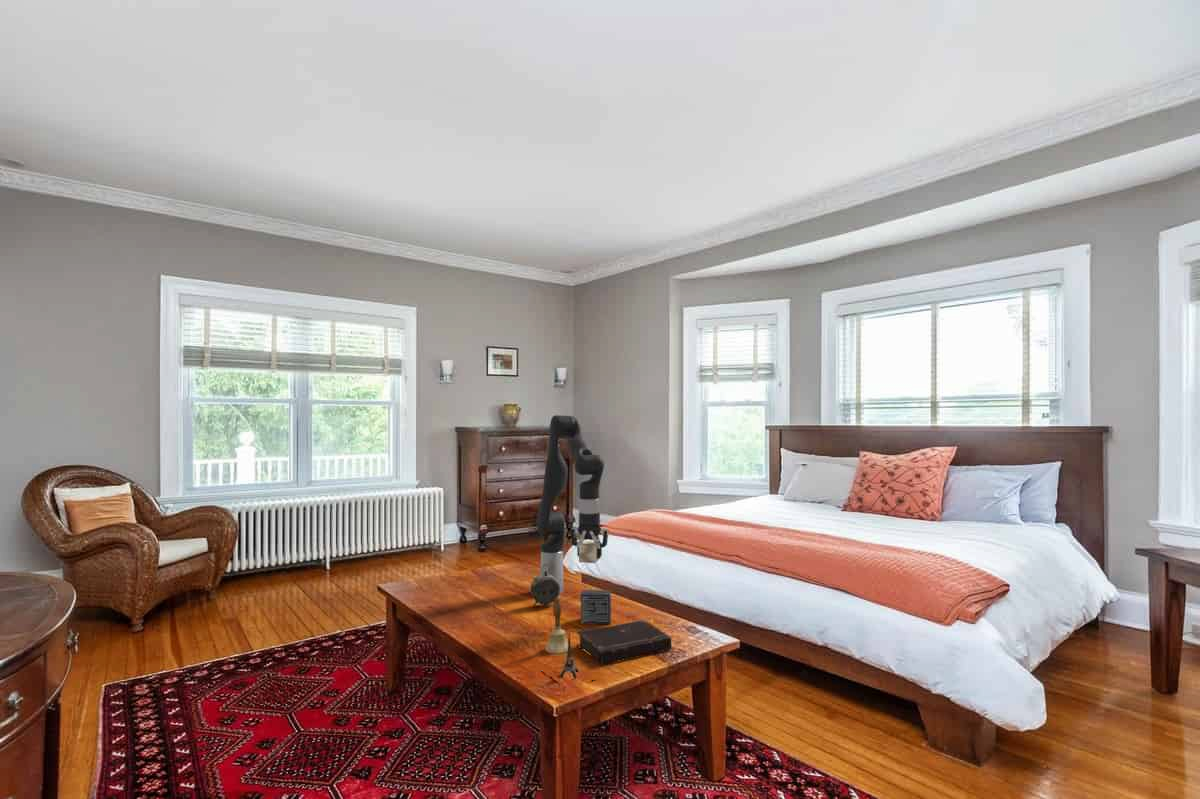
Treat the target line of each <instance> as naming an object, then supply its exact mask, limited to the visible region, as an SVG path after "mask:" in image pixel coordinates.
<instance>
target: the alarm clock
mask: <svg viewBox="0 0 1200 799" xmlns="http://www.w3.org/2000/svg"><path fill="white" fill-rule="evenodd" d="M544 565H548V564H544ZM544 565H543V566H544ZM543 566H542V568H543ZM548 566H549V565H548ZM542 568H541V567H540V570H541V569H542ZM549 570H550V566H549ZM549 570H548V571H549ZM548 571H545V572H544V573H545V574H541V575H540V574H539V575H537V576H536V577H535V578H534V579H533V580H532V582H531V585H530V594H531V596H532V598H533V599H534V600H535V603H534V604H533V605H532V606H533V607H536V605H537V604H540V605H543V606H545V608H546V609H547V608H548V605H550V604H552V603H554V601H555V598H559V595H560V594H559V593H560V585H559V583H558V581H557V580H556V579H555V577H553V576H552V575H550V574H547V572H548ZM542 572H543V570H542Z"/></svg>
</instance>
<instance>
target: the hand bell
mask: <svg viewBox="0 0 1200 799" xmlns="http://www.w3.org/2000/svg"><path fill="white" fill-rule="evenodd" d="M552 608H553V609H552V612H553V615H554V629H553V630H552V631H551V632H550V638H549V642H548V643H547V645H546V646H545V648H544V650H545V651H546V652H547V653H550V654H556V655H558V654H565V653H568V639H567V636H566V631H565V630H564V629H562V628H561V615H562V603H561V601H560V598H559V597H557V598H555V601H554V602H553V605H552Z"/></svg>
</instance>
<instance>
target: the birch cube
mask: <svg viewBox="0 0 1200 799" xmlns="http://www.w3.org/2000/svg"><path fill="white" fill-rule="evenodd" d="M599 560H600V559H597V545H596V544H595V543H594V541H587V540H584V542H583V543H582V544H580V545H579V556H578V562H579V563H585V564H586V563H587V564H596V563H597V562H598V561H599Z"/></svg>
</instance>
